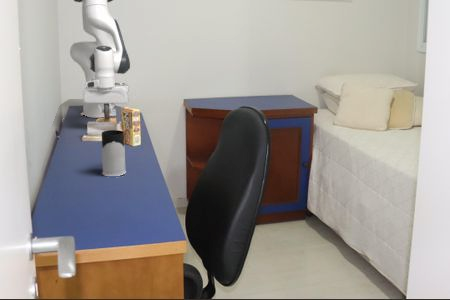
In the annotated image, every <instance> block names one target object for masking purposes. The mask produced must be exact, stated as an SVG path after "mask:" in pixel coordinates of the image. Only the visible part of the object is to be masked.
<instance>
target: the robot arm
mask: <svg viewBox="0 0 450 300" xmlns="http://www.w3.org/2000/svg"><path fill="white" fill-rule="evenodd" d="M73 1H74V2H76V3H82V5H81V15H82V16H81V17H82V18H81V19H82V28H83V31H84V33H86V34H88V35H90V36H92V37H93V38H94V39H95V41H78V42H74V43H73V44H72V45H71V46H70V48H69V54H70V57H71V59H72V60H73V61H74V63H77V64H78V65H79V67H80V68H81V69H82V71H83V72H84V76H85V77H84V78H85V83H84V90H83V96H82V101H83V111H82V112H81V113H80V116H83V115H85V116H84V117H86V116H87V117H88V118H93V119H94V118H97V119H99V118H104V104H105V103H109V114H110V117H115V116H117V110H116V108H115V106H116V104H119V105H120V104H121V105H123V104H126V105H127V103H129V99H130V98H129V89H130V87H129V85H128V84H126V83H125V82H124V83H123V82H122V83H121V82H116V74H120V75H121V74H122V75H124V74H126V73H127V72H128V71H129V70H130V69H131V59H130V57H129V54H128V51H127V49H126V46H125V42H124V41H125V40H124V38H123V34H122V32H121V28H120V26H119V23H118V21H117V19H115V18H113V16H112V15H111V13H110V11H109V3H111V2H112V1H114V0H73ZM110 36H111V37H112V38H111V37H110Z"/></svg>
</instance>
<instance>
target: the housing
mask: <svg viewBox="0 0 450 300" xmlns="http://www.w3.org/2000/svg"><path fill="white" fill-rule="evenodd" d="M98 119H99V118H98ZM97 122H111V121H110V119H99V120H98V121H97Z"/></svg>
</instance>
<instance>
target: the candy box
mask: <svg viewBox="0 0 450 300" xmlns="http://www.w3.org/2000/svg"><path fill="white" fill-rule="evenodd" d="M120 119H121V120H120V122H121V125H122V131H123V132H124V144H126V145H129V146H132V147H136V146H141V145H142V144H141V143H142V142H141V141H142V139H141V138H142V137H141V112H140V109H138V108H134V107H130V106H127V107H120Z"/></svg>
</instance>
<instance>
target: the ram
mask: <svg viewBox="0 0 450 300" xmlns="http://www.w3.org/2000/svg"><path fill="white" fill-rule="evenodd" d="M99 119H110V121H111V122H116V129H117V124H118V123H117V118H116V117H113V118H112V117H111V116H110V114H109V103H105V104H104V117H99V118H97V119H96V121H95V122H97V121H98V120H99Z"/></svg>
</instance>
